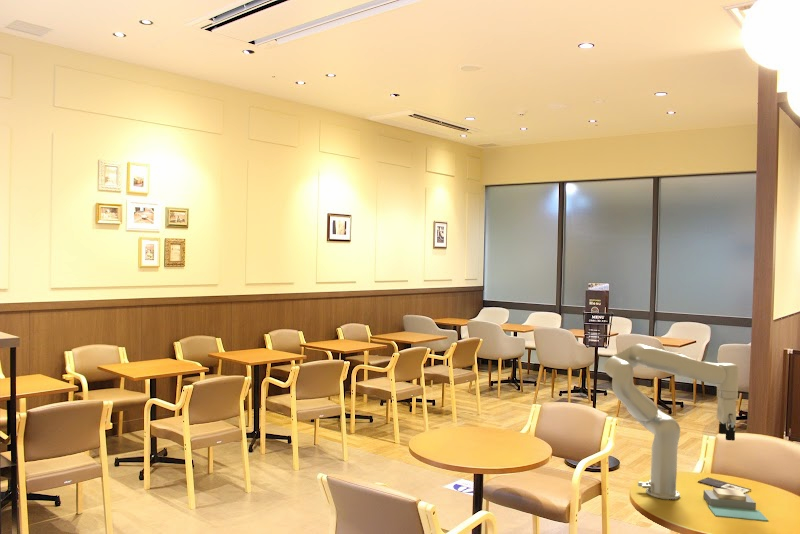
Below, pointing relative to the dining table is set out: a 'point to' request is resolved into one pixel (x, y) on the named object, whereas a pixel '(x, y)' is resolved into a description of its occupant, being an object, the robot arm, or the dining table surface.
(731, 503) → the gray block
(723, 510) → the teal mat
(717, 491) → the brass tile
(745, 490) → the chocolate bar
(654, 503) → the dining table surface
